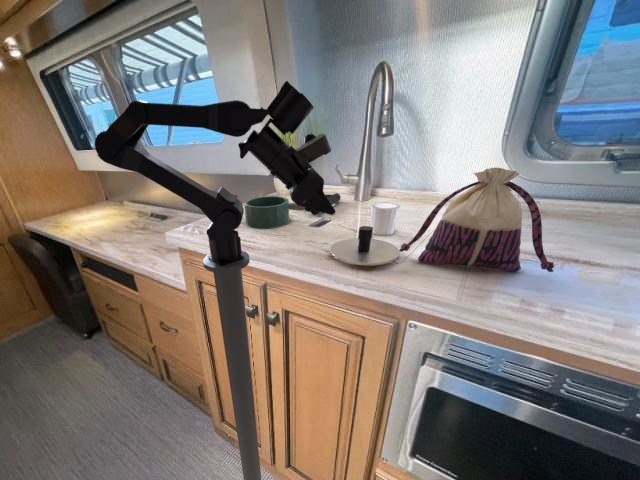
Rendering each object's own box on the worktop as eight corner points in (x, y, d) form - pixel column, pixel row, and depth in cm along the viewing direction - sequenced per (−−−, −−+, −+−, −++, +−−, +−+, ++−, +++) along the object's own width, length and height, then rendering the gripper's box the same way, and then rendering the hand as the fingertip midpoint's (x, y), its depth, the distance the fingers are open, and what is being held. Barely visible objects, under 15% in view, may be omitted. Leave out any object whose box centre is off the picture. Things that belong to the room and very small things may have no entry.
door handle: (277, 205, 106) (322, 206, 96) (303, 192, 119) (344, 192, 110) (278, 215, 107) (322, 217, 98) (303, 201, 121) (344, 201, 111)
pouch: (396, 267, 65) (414, 170, 55) (398, 252, 71) (415, 162, 61) (553, 284, 54) (610, 168, 44) (540, 265, 60) (588, 159, 50)
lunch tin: (263, 231, 91) (262, 210, 88) (238, 222, 102) (236, 202, 98) (297, 220, 97) (297, 200, 94) (270, 213, 107) (270, 194, 104)
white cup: (394, 227, 85) (399, 201, 81) (396, 236, 79) (401, 209, 76) (368, 227, 87) (371, 201, 83) (368, 235, 81) (371, 208, 78)
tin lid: (318, 260, 70) (319, 233, 66) (344, 239, 79) (346, 215, 76) (386, 274, 61) (391, 244, 58) (406, 248, 71) (411, 222, 68)
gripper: (312, 119, 49) (375, 186, 54) (300, 117, 65) (349, 169, 70) (265, 176, 54) (326, 232, 59) (264, 161, 70) (312, 206, 74)
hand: (329, 207), depth 65 cm, fingers open, 9 cm apart
